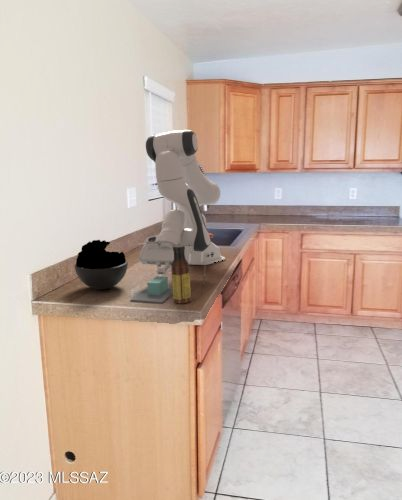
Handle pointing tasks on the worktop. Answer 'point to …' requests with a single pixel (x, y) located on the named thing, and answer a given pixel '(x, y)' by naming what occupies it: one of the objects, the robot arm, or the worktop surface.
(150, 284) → the teal block
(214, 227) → the worktop surface
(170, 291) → the rubber mat
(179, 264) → the sauce bottle
